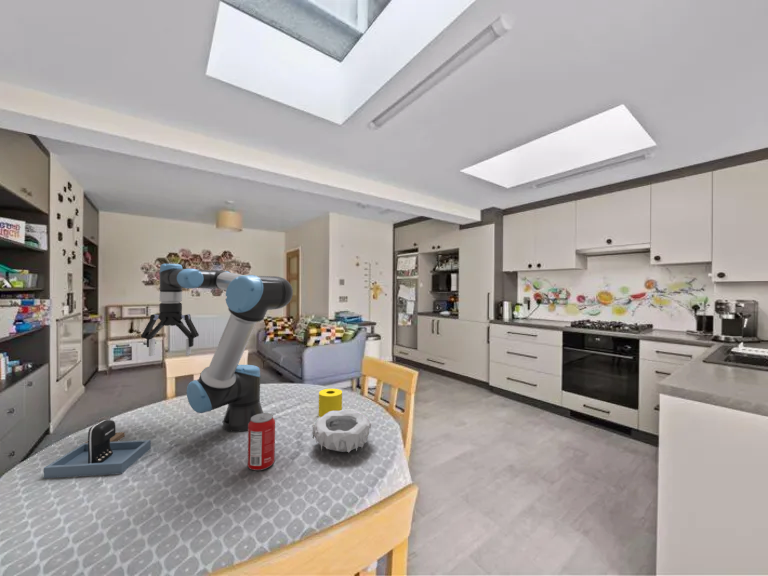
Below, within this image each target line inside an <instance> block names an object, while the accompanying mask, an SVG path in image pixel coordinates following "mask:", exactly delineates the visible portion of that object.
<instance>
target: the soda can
mask: <svg viewBox="0 0 768 576" xmlns="http://www.w3.org/2000/svg"><path fill="white" fill-rule="evenodd" d="M275 453H276V420H275V418H274V414H272V413H270V412H269V413H267V412H263V413H261V414H257V415H254V416H252V417H251V420H250V422H249V423H248V430H247V467H248V468H249V469H250V470H252V471H262V470H263V471H264V470H266V469H268V468H270V467H271V466H272V465H274V463H275V459H276V458H275V457H276V455H275Z"/></svg>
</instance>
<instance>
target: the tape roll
mask: <svg viewBox="0 0 768 576" xmlns="http://www.w3.org/2000/svg"><path fill="white" fill-rule="evenodd" d="M340 410H343V391H342V390H341V389H339V388H325V389H321V390H320V391H318V417H322V416H324V415H325V414H326V413H328V412H329V411H340Z"/></svg>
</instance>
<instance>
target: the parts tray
mask: <svg viewBox="0 0 768 576" xmlns="http://www.w3.org/2000/svg"><path fill="white" fill-rule="evenodd" d="M151 442H152V441H151V439H144V440H143V439H140V440H121V441H120V440H119V441H116V442H110V448H111V450H112V452H113V454H112V455H111V456H110V457H108V458H107V459H106V460H104V461H103V462H102V463H88V443H85V442H84V443H83V442H82V444H80V445H78V446H77V447H75V448H74V449H72V450H70V451H69V452H67V453H65V454H63V456H61V457H59V458H57V459H55V460H54V461H52V462H50V463H49V464H47V465H46V466H45V467H43V479H53V478H54V479H55V478H56V479H57V478H69V477H70V478H71V477H72V478H73V477H89V476H103V475H104V476H106V475H118V474H119V475H120V474H121V475H122V474H123V473H124V472H126V470H128V469H129V468H130V467H131V466H132V465H134V464H135V463H136V462H137V461H138V460H139V459H140V458H142V457H143V456H144V455H145V454H146V453H148V452H149V451H150V450H151V446H152V445H151Z"/></svg>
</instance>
